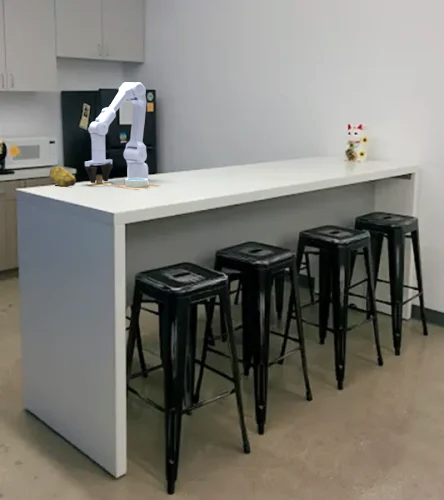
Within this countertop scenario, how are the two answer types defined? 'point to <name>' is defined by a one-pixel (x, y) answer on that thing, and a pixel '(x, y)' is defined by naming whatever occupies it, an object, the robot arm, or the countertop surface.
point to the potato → (62, 177)
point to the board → (136, 188)
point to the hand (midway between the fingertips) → (99, 181)
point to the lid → (99, 182)
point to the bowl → (136, 182)
